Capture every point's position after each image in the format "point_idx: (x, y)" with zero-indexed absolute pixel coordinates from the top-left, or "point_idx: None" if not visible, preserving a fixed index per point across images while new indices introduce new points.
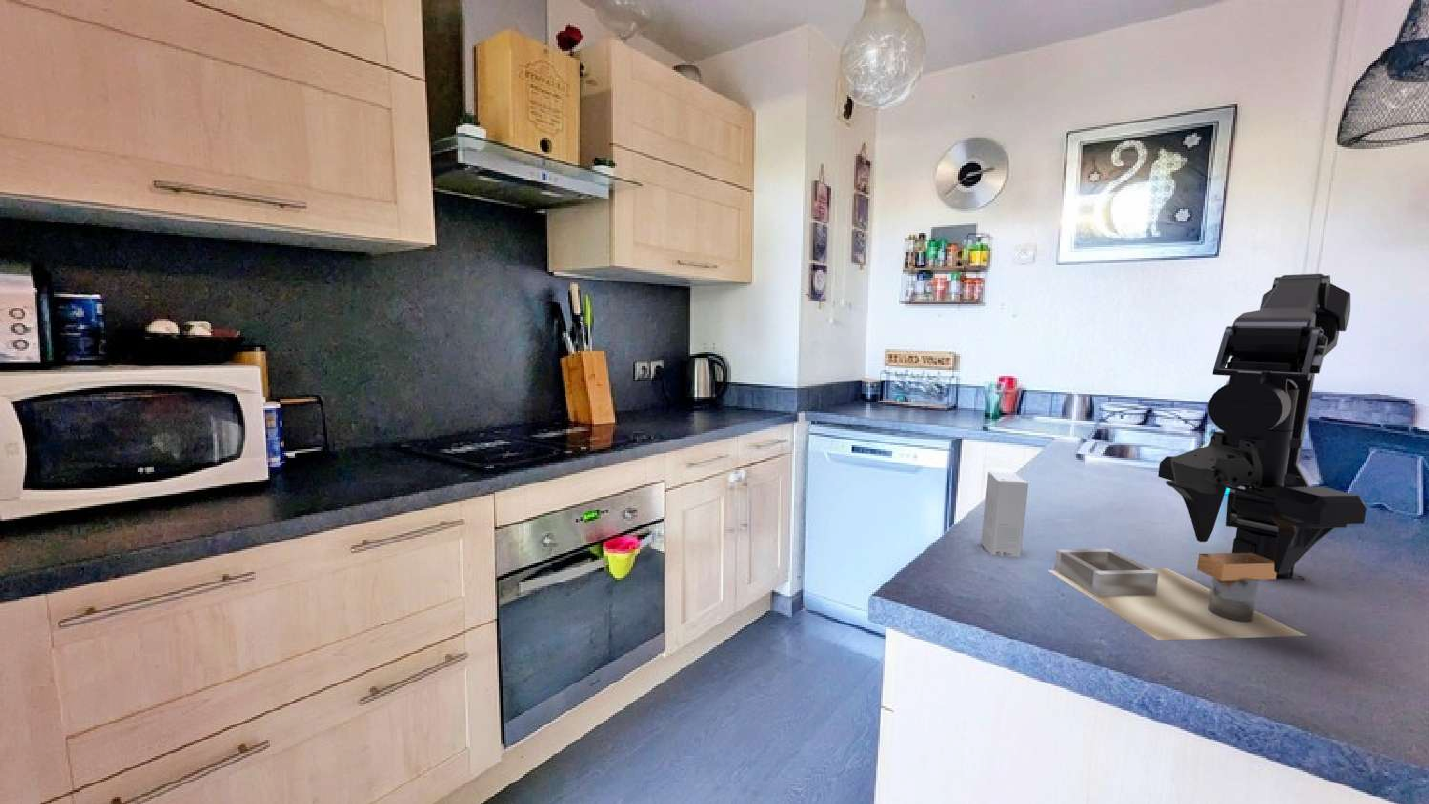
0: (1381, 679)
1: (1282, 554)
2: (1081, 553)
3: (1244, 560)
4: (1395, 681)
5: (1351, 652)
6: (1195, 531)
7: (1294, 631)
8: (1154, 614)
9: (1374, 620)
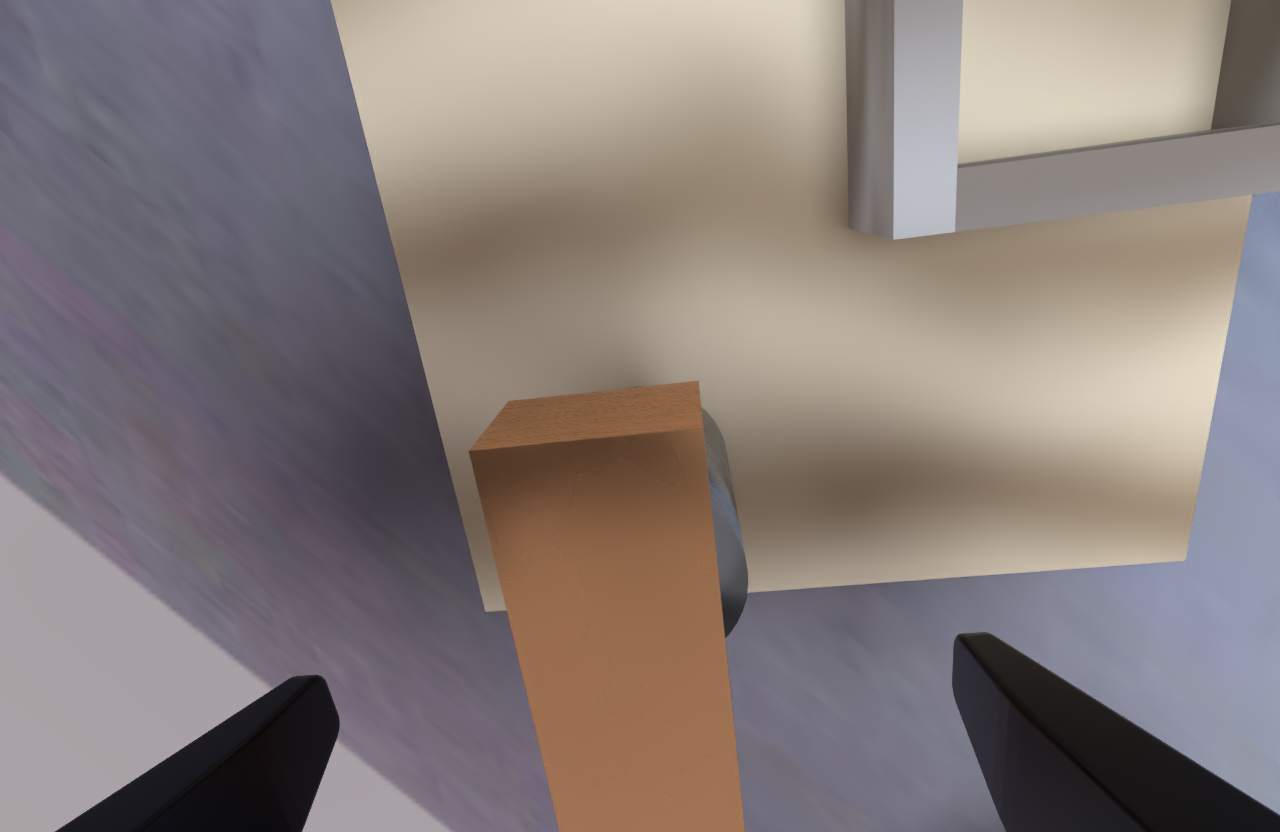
0: (259, 605)
1: (103, 802)
2: None
3: (577, 672)
4: (259, 635)
5: (430, 672)
6: (1045, 679)
7: None
8: (606, 28)
9: None
